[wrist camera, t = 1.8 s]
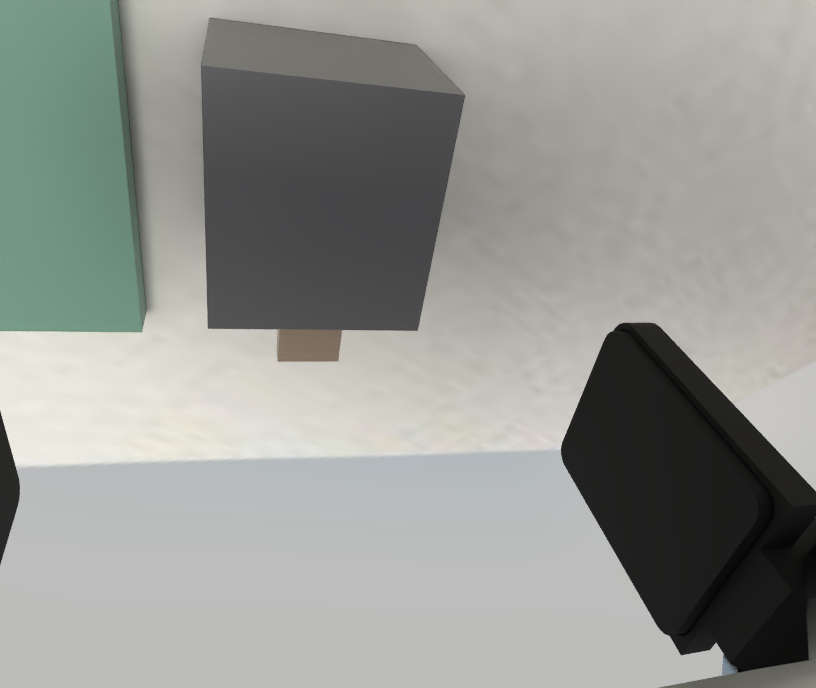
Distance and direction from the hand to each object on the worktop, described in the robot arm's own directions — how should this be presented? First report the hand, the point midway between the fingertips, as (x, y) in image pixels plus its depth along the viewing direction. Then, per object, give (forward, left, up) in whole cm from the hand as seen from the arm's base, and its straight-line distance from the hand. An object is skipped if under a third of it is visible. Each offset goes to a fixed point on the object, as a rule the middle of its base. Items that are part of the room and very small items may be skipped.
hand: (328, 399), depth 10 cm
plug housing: (-1, 0, -12) cm, 12 cm away
